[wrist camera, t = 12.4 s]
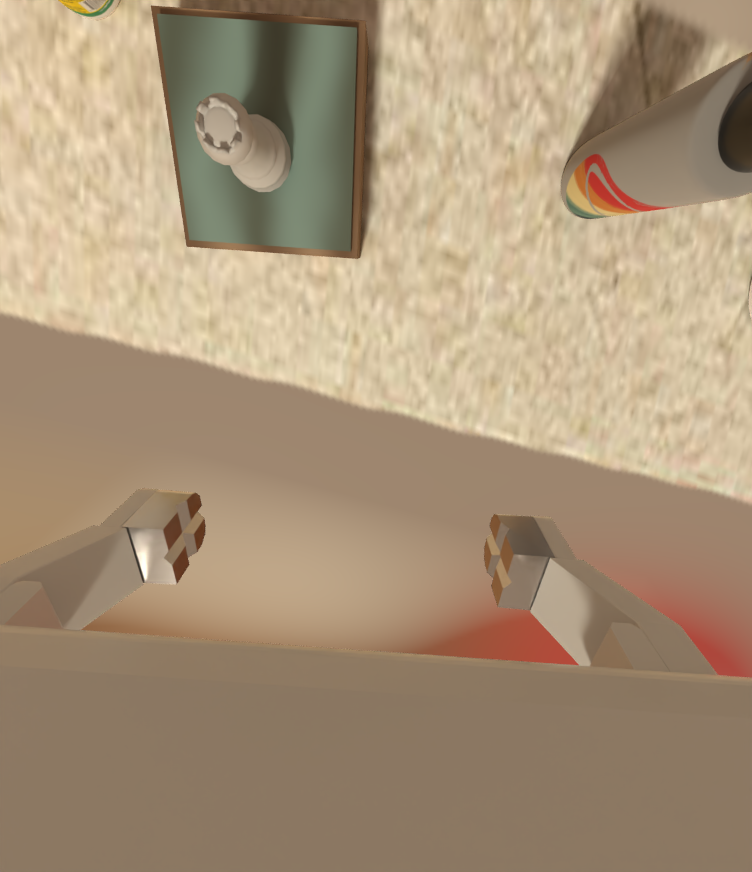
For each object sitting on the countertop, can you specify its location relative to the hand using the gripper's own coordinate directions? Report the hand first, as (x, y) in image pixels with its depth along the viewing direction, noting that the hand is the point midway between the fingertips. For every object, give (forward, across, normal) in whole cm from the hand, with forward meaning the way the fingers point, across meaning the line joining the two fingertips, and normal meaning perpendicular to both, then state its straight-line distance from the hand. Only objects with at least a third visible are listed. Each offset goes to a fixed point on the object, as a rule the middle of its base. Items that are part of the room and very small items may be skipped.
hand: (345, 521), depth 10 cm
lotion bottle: (+29, -17, -13) cm, 36 cm away
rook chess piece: (+25, +9, -12) cm, 30 cm away
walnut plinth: (+29, +9, -13) cm, 33 cm away
